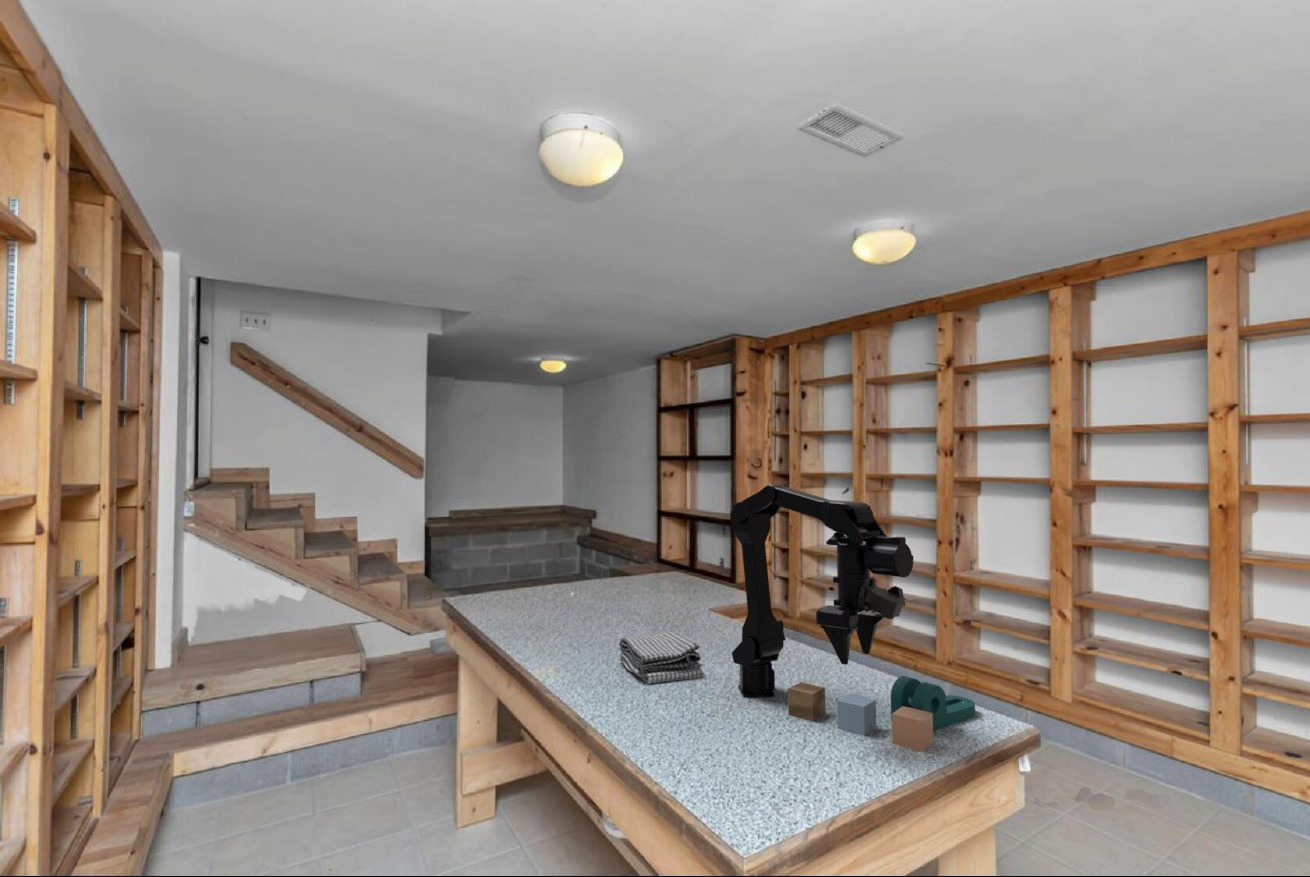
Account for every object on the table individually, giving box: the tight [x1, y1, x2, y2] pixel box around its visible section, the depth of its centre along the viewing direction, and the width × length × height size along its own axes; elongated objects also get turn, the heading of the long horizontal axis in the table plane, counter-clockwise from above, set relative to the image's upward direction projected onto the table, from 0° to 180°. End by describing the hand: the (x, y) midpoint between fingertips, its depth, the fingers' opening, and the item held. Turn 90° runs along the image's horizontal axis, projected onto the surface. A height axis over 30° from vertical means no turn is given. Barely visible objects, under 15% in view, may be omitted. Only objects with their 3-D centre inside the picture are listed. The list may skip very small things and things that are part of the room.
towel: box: [619, 631, 706, 685], centre depth 150 cm, size 15×18×8 cm
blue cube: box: [836, 693, 877, 737], centre depth 115 cm, size 5×5×5 cm
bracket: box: [890, 675, 976, 732], centre depth 120 cm, size 18×7×8 cm, turn 122°
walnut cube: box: [787, 681, 826, 722], centre depth 122 cm, size 5×5×5 cm
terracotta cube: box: [891, 706, 934, 753], centre depth 108 cm, size 5×5×5 cm
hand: (855, 658), depth 116 cm, fingers open, 9 cm apart
